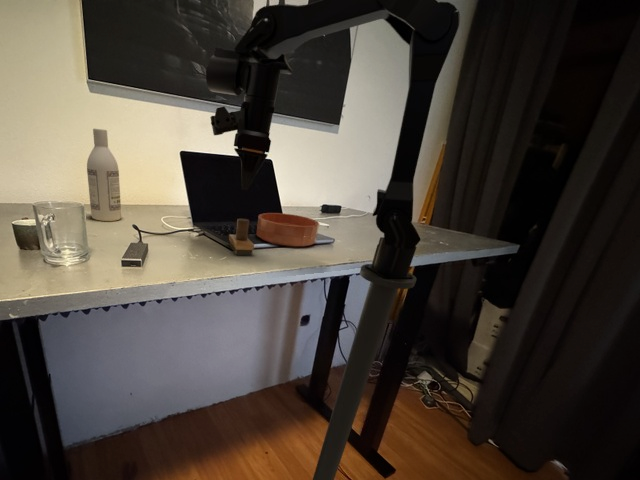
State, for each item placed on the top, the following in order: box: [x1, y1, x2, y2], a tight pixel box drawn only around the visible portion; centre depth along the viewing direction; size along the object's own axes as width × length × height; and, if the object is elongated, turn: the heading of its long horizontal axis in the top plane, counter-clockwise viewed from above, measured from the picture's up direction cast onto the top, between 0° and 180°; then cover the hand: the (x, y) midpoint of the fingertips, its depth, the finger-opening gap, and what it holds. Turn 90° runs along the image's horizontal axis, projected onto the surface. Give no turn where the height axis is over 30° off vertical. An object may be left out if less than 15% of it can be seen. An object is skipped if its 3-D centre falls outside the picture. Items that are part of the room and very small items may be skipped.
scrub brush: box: [228, 218, 255, 257], centre depth 67 cm, size 7×4×6 cm, turn 14°
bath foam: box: [86, 128, 122, 222], centre depth 77 cm, size 7×7×20 cm
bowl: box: [255, 212, 320, 248], centre depth 79 cm, size 15×15×5 cm
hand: (245, 186), depth 67 cm, fingers open, 9 cm apart
